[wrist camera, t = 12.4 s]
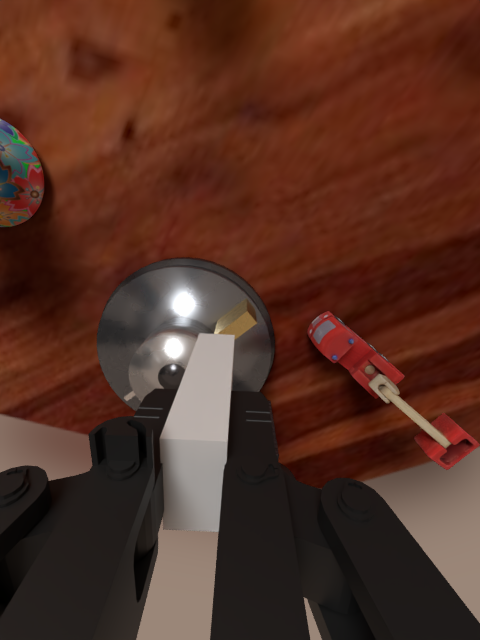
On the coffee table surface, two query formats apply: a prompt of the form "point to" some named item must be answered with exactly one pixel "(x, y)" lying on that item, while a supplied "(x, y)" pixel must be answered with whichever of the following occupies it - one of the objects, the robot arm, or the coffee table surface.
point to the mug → (18, 177)
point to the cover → (164, 355)
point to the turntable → (182, 302)
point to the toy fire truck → (388, 387)
